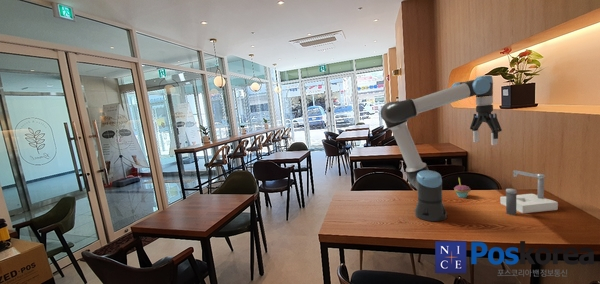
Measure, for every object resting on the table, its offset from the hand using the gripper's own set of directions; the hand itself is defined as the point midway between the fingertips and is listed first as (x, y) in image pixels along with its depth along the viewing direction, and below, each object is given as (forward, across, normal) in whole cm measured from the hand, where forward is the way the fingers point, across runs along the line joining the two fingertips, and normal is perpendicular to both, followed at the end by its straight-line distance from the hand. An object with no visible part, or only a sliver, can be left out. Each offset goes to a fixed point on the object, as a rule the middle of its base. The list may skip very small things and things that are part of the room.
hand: (484, 143), depth 140 cm
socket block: (+35, -9, -16) cm, 39 cm away
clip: (+22, -3, -22) cm, 31 cm away
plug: (+35, -15, -2) cm, 38 cm away
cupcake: (+35, +14, +4) cm, 38 cm away
